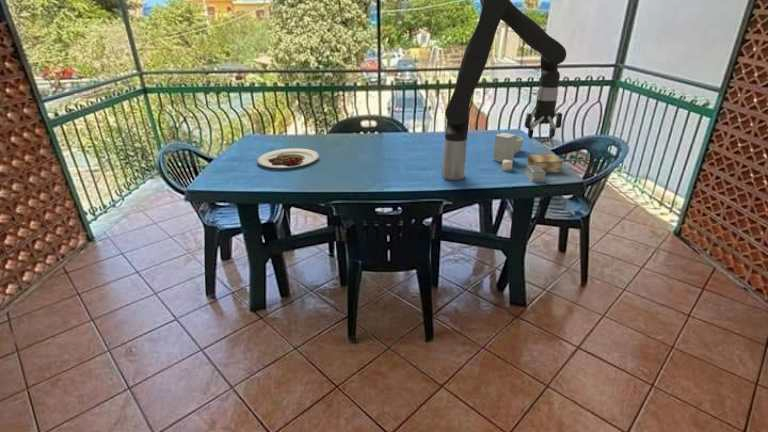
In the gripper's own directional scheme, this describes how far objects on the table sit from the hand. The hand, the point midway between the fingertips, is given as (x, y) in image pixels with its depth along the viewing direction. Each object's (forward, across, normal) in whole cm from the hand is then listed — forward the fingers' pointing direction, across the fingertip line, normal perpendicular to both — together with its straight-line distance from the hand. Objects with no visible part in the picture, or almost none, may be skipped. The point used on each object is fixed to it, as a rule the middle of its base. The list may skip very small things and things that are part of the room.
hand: (540, 138), depth 171 cm
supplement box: (+18, -7, +24) cm, 31 cm away
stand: (+18, +8, +11) cm, 22 cm away
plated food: (+18, -113, +31) cm, 119 cm away
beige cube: (+18, -9, +11) cm, 23 cm away
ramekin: (+18, 0, +39) cm, 43 cm away
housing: (+18, 0, 0) cm, 18 cm away
